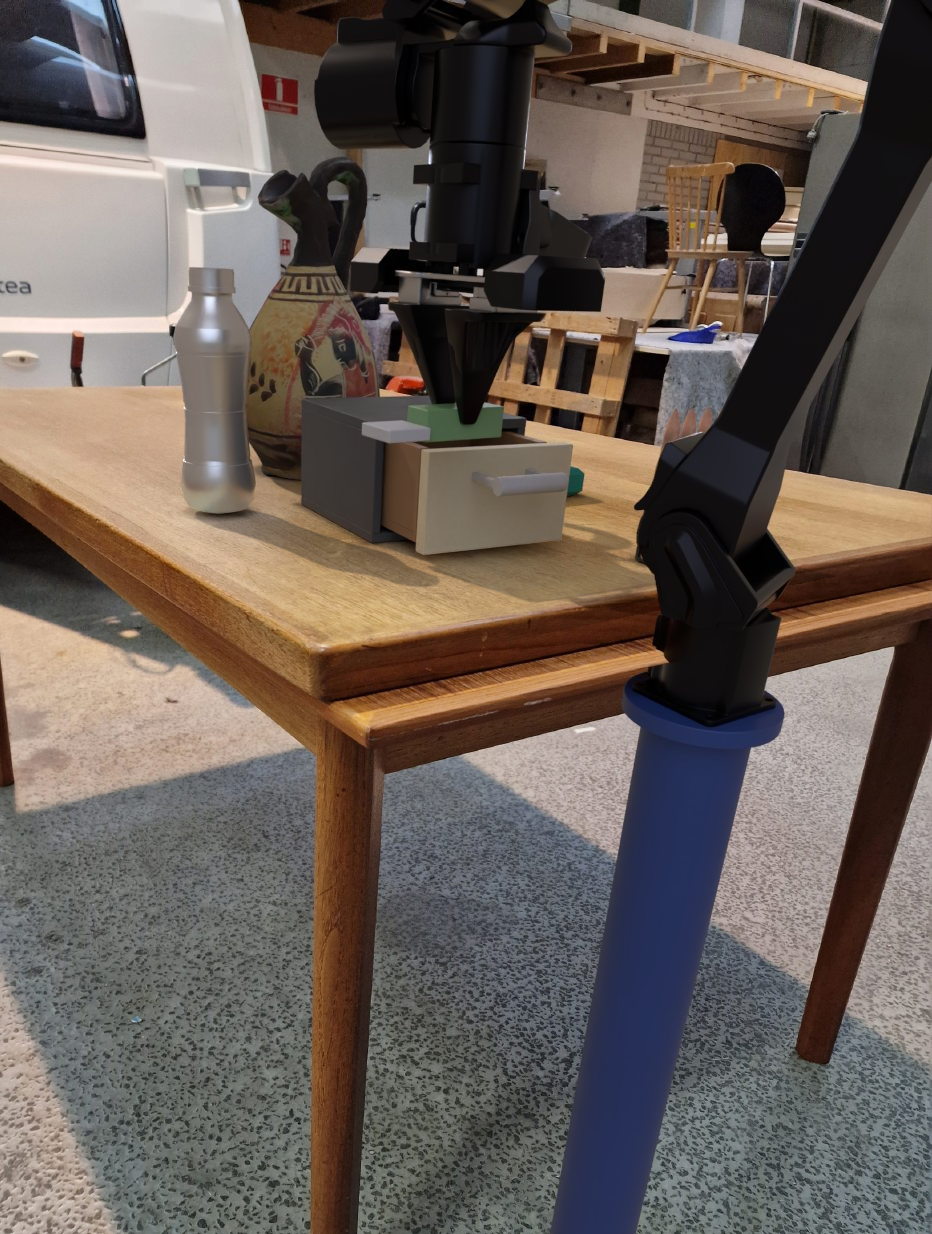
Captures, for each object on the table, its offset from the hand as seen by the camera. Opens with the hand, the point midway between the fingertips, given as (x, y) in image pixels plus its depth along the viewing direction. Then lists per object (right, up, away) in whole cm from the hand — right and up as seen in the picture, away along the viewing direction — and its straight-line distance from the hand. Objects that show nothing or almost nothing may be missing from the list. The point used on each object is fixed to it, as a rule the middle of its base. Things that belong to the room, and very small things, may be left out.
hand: (456, 421), depth 64 cm
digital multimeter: (+9, +6, +40) cm, 42 cm away
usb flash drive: (-1, -1, 0) cm, 2 cm away
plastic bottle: (-20, -1, +24) cm, 31 cm away
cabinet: (-3, -1, +25) cm, 25 cm away
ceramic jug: (-13, +8, +42) cm, 44 cm away
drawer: (+2, -4, +17) cm, 17 cm away
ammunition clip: (+21, -6, +17) cm, 28 cm away
